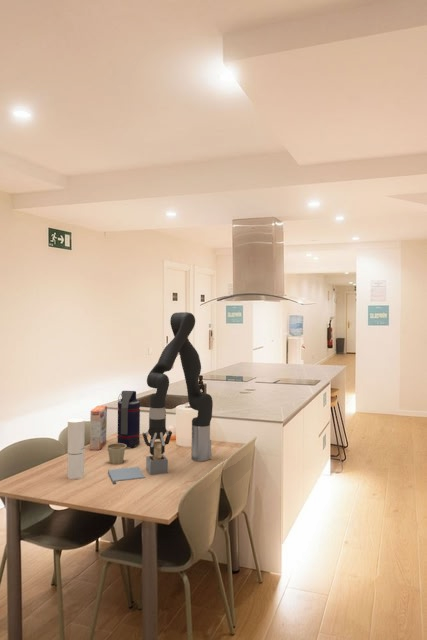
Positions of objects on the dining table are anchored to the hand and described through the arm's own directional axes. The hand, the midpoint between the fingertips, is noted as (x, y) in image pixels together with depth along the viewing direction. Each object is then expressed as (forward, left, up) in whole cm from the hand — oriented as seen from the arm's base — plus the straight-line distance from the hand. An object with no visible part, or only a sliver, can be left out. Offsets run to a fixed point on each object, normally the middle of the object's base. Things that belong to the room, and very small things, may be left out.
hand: (157, 453), depth 217 cm
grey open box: (0, 0, -9) cm, 9 cm away
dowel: (0, 0, -8) cm, 8 cm away
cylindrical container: (+35, -8, -9) cm, 37 cm away
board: (+14, 0, -9) cm, 17 cm away
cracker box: (+19, -50, -9) cm, 54 cm away
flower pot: (+15, -19, -9) cm, 26 cm away
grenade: (+4, -46, -9) cm, 47 cm away
